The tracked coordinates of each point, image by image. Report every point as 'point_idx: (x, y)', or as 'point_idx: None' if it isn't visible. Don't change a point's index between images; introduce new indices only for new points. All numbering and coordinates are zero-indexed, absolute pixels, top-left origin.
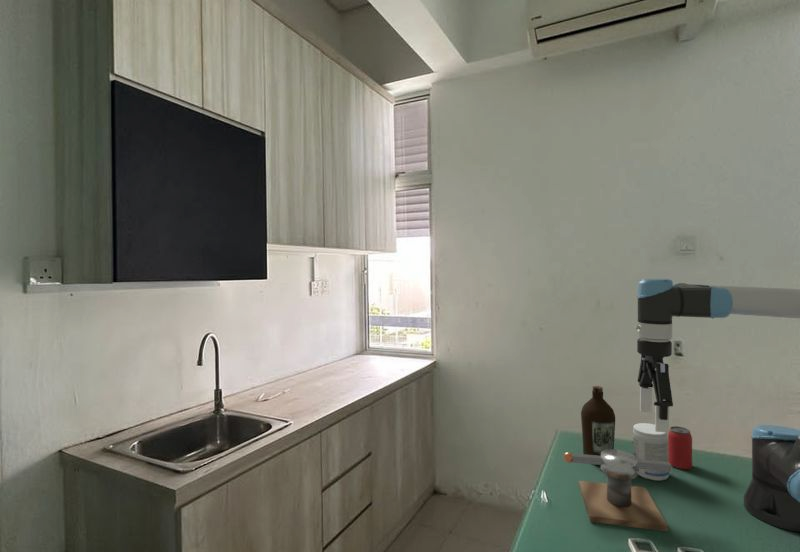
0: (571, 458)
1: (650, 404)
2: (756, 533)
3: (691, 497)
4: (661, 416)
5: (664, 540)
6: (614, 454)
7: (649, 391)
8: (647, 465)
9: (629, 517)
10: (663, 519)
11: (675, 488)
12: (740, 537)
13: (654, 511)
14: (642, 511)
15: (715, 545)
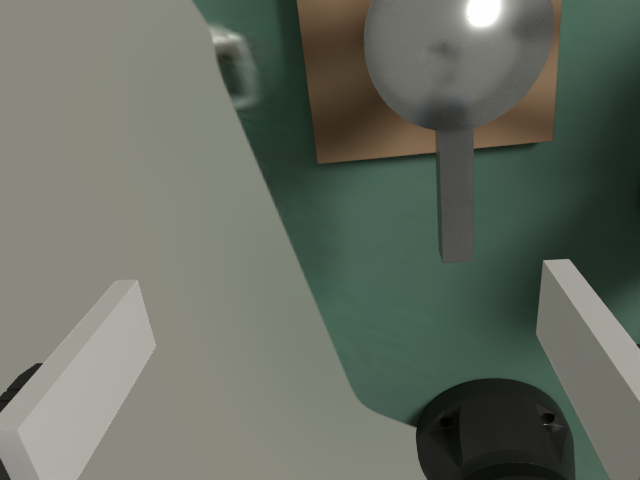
0: None
1: (558, 371)
2: (385, 359)
3: (539, 269)
4: (14, 387)
5: (270, 140)
6: (481, 18)
7: (618, 468)
8: (438, 168)
9: (324, 52)
10: (348, 159)
11: (593, 239)
12: (355, 322)
13: (388, 141)
14: (377, 102)
15: (297, 258)
